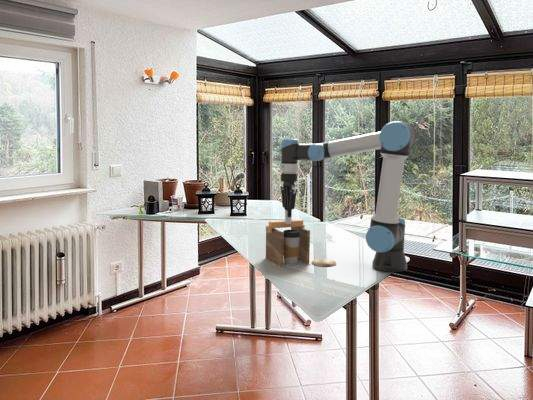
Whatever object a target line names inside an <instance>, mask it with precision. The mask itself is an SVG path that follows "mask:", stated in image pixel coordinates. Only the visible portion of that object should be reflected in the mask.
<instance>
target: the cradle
mask: <svg viewBox="0 0 533 400" xmlns="http://www.w3.org/2000/svg"><path fill="white" fill-rule="evenodd" d="M267 227H269V225H266V226H265V259H266V260H269V262H271V263H272V264H275V265H276V266H278V267H280V268H283V267H284V256H283V248H284V232H283V231H282V230H279V229H278V228H272V233H269V232H267ZM290 230H298V231H299V233H300V242H299V256H298V262H302V263H304V264H305V265H310V254H311V253H310V249H311V247H310V245H311V243H310V242H311V230H310V229H307V228H305V227H304V228H302V227H290Z"/></svg>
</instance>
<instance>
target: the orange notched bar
mask: <svg viewBox="0 0 533 400" xmlns="http://www.w3.org/2000/svg"><path fill="white" fill-rule="evenodd" d="M268 226H269V227H267V232H269V233H272V228H274V229H283V228H291V227H302V228H305V227H306V226H305V224H304V220H303V219H300V218H299V219H291V224H285V219H284V220H269V221H268Z"/></svg>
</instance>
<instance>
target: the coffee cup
mask: <svg viewBox="0 0 533 400" xmlns="http://www.w3.org/2000/svg"><path fill="white" fill-rule="evenodd" d="M282 232H284V248H283V264H285V265H288V266H293V265H297V264H298V263H299V260H298V256H299V242H300V233H299V231H298V230H291V229H285V230H283V231H282Z"/></svg>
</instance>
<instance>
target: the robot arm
mask: <svg viewBox="0 0 533 400" xmlns="http://www.w3.org/2000/svg"><path fill="white" fill-rule="evenodd" d="M416 131H417V130H416V129H415V127H414V126H413V124H411V123H409V122H406V121H399V120H393V121H391V122H388V123H386V124H385V125H384V126H383V127H382V129H381V130H380V131H377V132H370V133H366V134H360V135H356V136H351V137H345V138H340V139H336V140H331V141H330V140H329V141H325V142H319V143H301V142H300V143H299V140H298V138H283V139H282V140H281V146H280V147H281V148H280V151H281V152H280V153H281V155H280V157H281V159H280V160H281V161H280V162H281V163H280V167H279V168H280V172H281V173H280V182H283V184H282V186H280V187H279V188H280V193H281V203H282V208H284V220H285V224H291V220H292V218H293V217H292V216H293V215H292V211H293V210H295V205H296V200H297V194H298V188H295V186H296V185H295V183H297V182H298V173H297V172H298V165H299V164H298V163H299V162H298V161H307V162H310V161H312V162H317V161H318V162H320V161H322V160H327V159H332V158H337V157H342V156H348V155H354V154H360V153H366V152H371V151H376V150H379V154H380V155H381V156H382V164H381V172H380V179H379V186H378V193H377V198H376V199H377V201H376V207H375V208H376V209H375V214H374V215H373V216H371V217H370V224H369V227H368V229H367V231H366V234H365V242H366V245H367V246H368V247H369V249H371V250H372V251H373V252H375V254H374V256H373V257H374V258H373V260H372V262H371V263H372V268H373V269H375V270H377V271H381V270H382V272H387V271H390V273H399V272H405V271H406V270H408V262H407V259H406V255H405V251H404V250H405V234H406V233H405V232H406V231H405V230H406V221H405V219H404V218H403V217H397V214H398V207H399V201H400V196H401V195H400V193H401V186H402V180H403V172H404V166H405V160H407V158H409V157H410V152H411V147H412V146H413V145H414V144H415V143H416V141H417V132H416ZM391 271H392V272H391Z"/></svg>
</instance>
